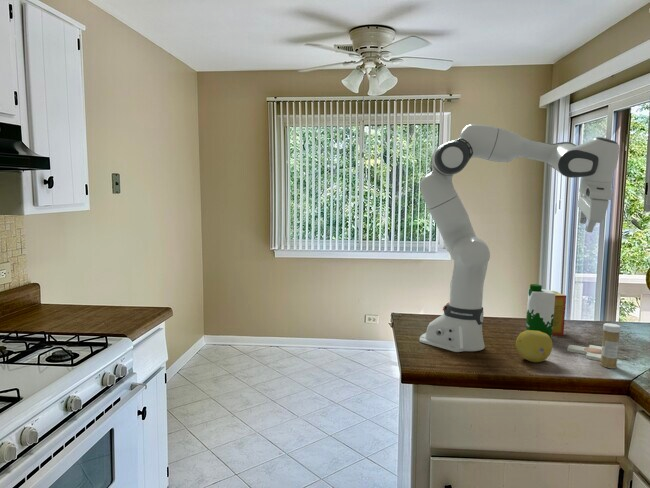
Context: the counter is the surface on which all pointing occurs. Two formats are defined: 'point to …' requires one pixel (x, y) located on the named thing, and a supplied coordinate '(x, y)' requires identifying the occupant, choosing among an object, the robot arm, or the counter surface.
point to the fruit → (534, 345)
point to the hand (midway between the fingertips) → (585, 227)
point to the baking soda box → (559, 314)
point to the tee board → (587, 351)
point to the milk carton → (540, 309)
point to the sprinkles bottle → (610, 345)
